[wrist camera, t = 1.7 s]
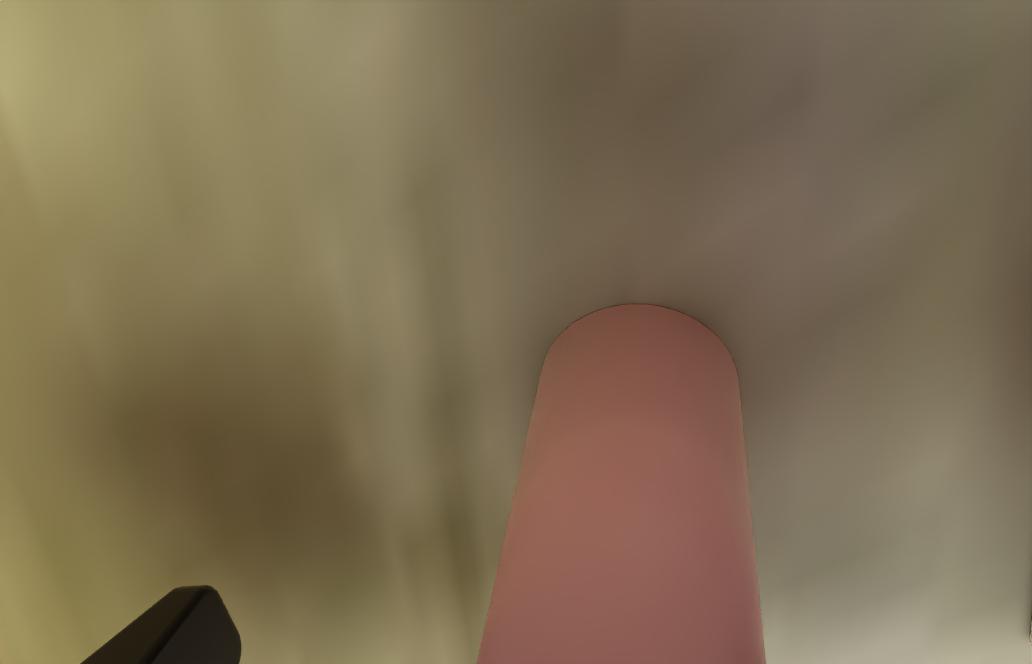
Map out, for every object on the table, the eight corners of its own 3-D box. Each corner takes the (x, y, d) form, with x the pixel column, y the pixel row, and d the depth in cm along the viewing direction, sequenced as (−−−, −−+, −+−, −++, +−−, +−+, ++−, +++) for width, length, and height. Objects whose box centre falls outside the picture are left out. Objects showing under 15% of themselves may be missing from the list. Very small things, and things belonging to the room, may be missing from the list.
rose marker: (751, 462, 13) (832, 1255, 6) (557, 475, 13) (434, 1207, 7) (732, 289, 11) (809, 1056, 5) (517, 313, 12) (315, 1021, 5)
